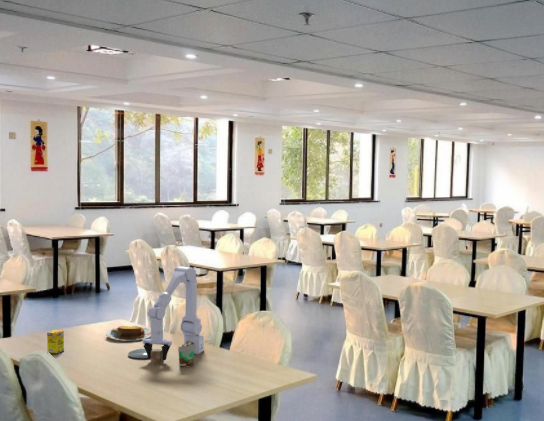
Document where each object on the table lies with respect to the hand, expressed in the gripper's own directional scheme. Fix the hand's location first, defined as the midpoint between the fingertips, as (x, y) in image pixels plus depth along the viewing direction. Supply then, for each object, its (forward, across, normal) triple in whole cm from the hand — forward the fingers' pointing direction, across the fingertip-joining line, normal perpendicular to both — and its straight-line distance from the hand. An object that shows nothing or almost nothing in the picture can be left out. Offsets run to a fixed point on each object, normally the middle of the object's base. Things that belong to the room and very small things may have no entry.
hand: (157, 359), depth 321 cm
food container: (+2, +16, +1) cm, 16 cm away
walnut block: (+2, 0, 0) cm, 2 cm away
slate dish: (+2, -12, +10) cm, 16 cm away
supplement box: (+2, -57, +1) cm, 57 cm away
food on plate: (+2, -37, +40) cm, 54 cm away
